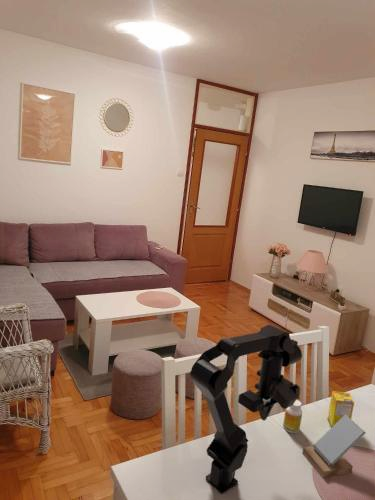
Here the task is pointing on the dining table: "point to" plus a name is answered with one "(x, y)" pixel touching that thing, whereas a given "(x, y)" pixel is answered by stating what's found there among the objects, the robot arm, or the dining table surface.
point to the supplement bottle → (293, 417)
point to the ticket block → (322, 466)
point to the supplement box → (340, 407)
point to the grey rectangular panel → (338, 440)
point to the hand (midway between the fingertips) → (263, 419)
